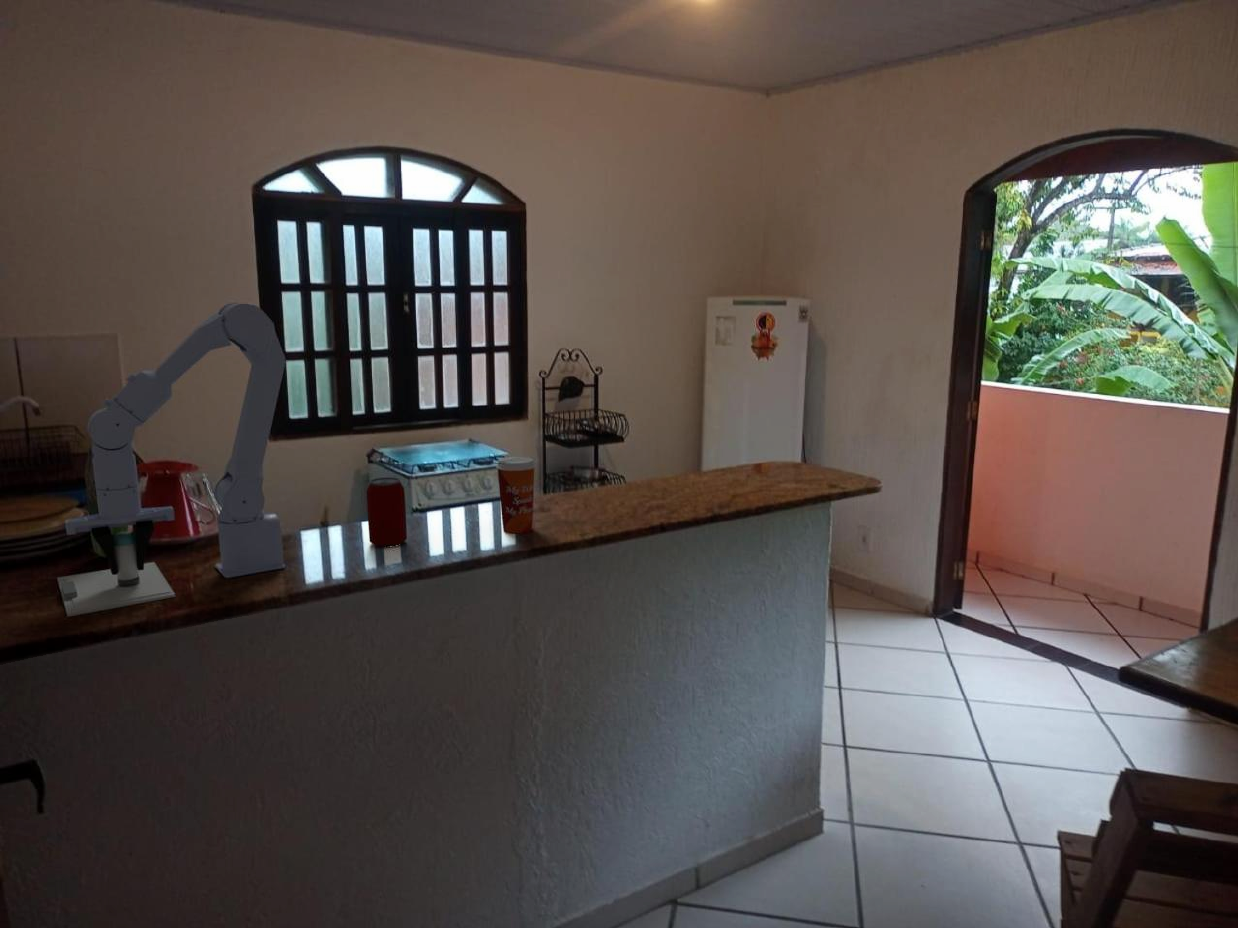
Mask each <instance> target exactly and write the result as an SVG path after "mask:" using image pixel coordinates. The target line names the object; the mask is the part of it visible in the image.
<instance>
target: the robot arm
mask: <svg viewBox="0 0 1238 928" xmlns="http://www.w3.org/2000/svg"><path fill="white" fill-rule="evenodd" d="M232 343H233V344H234V345H235V346H236V347H238V348H239V350H240V351H241V353H242V354H243V355H244V357H245V358H246V359H247V360H248V362H249V363H250V365H251V367H250V371H249V376H248V380H247V384H246V389H245V393H244V398H243V403H242V407H241V410H240V411H241V412H240V415H239V421H238V425H237V429H236V434H235V439H234V443H233V447H232V451H231V456H230V459H229V460H228V462H227V464H226V465H225V470H224V473H223V475H222V476H221V478H220V479H219V480H218V481H217V482H216V484H215V487H214V494H213V495H214V499H215V500H216V502H217V504H218V505H219V506H220V507H222V508H221V510H220V512H219V513H218V515H217V516H216V519H217V520H216V521H217V530H218V540H219V541H218V542H219V552H220V562H217V563H216V564H215V565H214V566H215V568H216V569H217V570H218V572H219V573H220V574H222V576H223V577H224V578H225V579H231V578H235V577H241V576H246V575H251V574H258V573H262V572H269V571H274V570H279V569H280V570H281V569H285V568H286V564H285V560H284V558H285V557H284V550H283V534H282V527H281V523H280V519H279V517H278V515H277V514H276V513H274V512H273V513H271V512H270V513H265V511H264V510H263V509H264V507H265V494H264V491H263V484H264V483H263V482H264V467H263V464H264V459H265V454H266V451H267V446H268V440H269V437H270V433H271V428H272V425H273V421H274V416H275V410H276V405H277V401H278V398H279V393H280V388H281V383H282V379H283V374H284V370H285V366H286V357H285V353H284V351H283V349H282V346H281V343H280V341H279V338H278V336H277V333H276V329H275V324H274V322H273V321H272V320H271V318H270V317H269V316H268V315H267V313H265V312H264V311H263V309H261V308H260V307H259V306H258V305H255V304H252V303H249V302H241V303H240V302H231V303H228V304H225V305H224V306H222V307H221V308H220V309H219V311H218V313H217V314H216V313H214V314H213V315H211V316H209V317H208V318H207V319H206V320H204V321H203V322H202V323H200V324H199V325H198V326H197V327H196V328H195V329H194V330H193V331H192V332H191V333H190V334H189V335H188V336H187V337H186V338H185V339H184V340H183V341H182V342H181V343H180V344H179V345H178V346H177V347H176V348H175V349H174V350H172V352H171V353H170V354H169V355H168V356H167V357H166V358H165V359H164V361H162V362H161V364H160V365H159V366H157V368H155V370H141V371H139V372H138V373H137V374H136V375H135V374H133V373H130V374H129V376H127V377H126V379H125V380H126V381H127V383H126V384H125V385H124V386H123V387H122V388H121V389H120V390H118V392H117V393H116V394H115V395H114V396H112V397H111V398H110V399H109V398H106V399H104V400H103V401H102V405H103V406H105V407H104V408H101V409H98V410H96V411H95V412H93V413H92V414H91V415H90V417H89V418H88V423H87V426H86V431H87V433H88V435H89V437H90V439H91V440H92V442H91V443H92V446H91V447H92V454H93V455H94V457H93V459H92V462H93V470H94V478H95V486H96V494H97V502H98V510H99V514H96V515H91V516H89V515H88V516H82V517H76V518H71V519H65V520H64V522H65V528H66V529H65V530H66V534H67V536H71V535H75V534H77V533H84V532H85V533H86V532H90V531H91V532H90V534H91V533H92V535H93V537H94V539H95V540H96V541H97V543H98V544H99V546H100V547H101V549H102V550H103V552H104V554H105V555H106V557H105V558H106V559H107V563H108V566H109V569H111V573H112V575H116V574H118V572H117V565H116V561H115V556H114V548H113V536H112V534H111V530H110V528H114V527H121V526H128V527H129V526H132V529H133V530H132V532H134V536H135V545H136V553H137V562H138V570H144V564H145V558H146V554H147V549H148V547H149V543H150V541H151V538H152V536H153V534H154V531H155V526H154V523H155V522H161V521H162V522H163V521H169V522H171V521H175V519H176V518H175V511H174V510H175V509H174V508H173V506H172V505H169V506H162V507H159V506H158V507H145V508H142V505H141V504H142V503H141V493H140V485H139V477H138V476H139V475H138V471H137V461H136V455H135V454H134V452H133V451H134V450H133V443H132V441H133V439H134V438H135V433H136V430H135V428H138V427H141V426H143V425H145V423H147V421H149V420H150V419H151V418H152V417H153V415H155V413H157V412H158V411H159V410H160V409H162V407H163V406H164V405H165V404H166V403H167V402H168V401H169V400H171V398H172V397H173V391H172V388H173V387H172V385H174V383H175V382H176V381H177V380H178V379H180V378H181V377H182V376H183V375H185V374H186V373H187V371H189V370H190V369H191V368H192V367H193V366H195V364H197V363H198V362H199V361H201V359H202V358H204V357H205V356H206V355H207V354H208V353H209V352H210V351H212V350H217V349H221V348H225V347H226V348H227V347H230V346H232Z"/></svg>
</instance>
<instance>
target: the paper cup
mask: <svg viewBox="0 0 1238 928" xmlns="http://www.w3.org/2000/svg"><path fill="white" fill-rule="evenodd" d="M536 467H537V465H536V464H535V460H534V459H533V458H531V457H526V456H510V457H509V456H508V457H503V458H500V459H498V460H497V465H495V469H497V477H498V488H499V489H498V490H499V500H500V510H501V520H502V530H503V532H504V533H506V534H509V535H510V534H511V535H512V534H513V535H518V534H519V535H521V534H527V533H529V532H532V529H533V518H534V517H533V516H534V515H533V514H534V511H533V510H534V492H535V491H534V488H535V487H534V485H535V484H534V483H535V468H536Z"/></svg>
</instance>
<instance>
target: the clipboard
mask: <svg viewBox="0 0 1238 928" xmlns="http://www.w3.org/2000/svg"><path fill="white" fill-rule="evenodd" d="M139 578H140V582H139V583H138V584H135V585H131V586H119V585H118V580H117V574H116V575H112V573H111V569H110V568H109V569H102V570H95V571H91V572H86V573H85V572H83V573H79V574H72V575H66V576H65V575H64V576H60V577H57V583H58V587H59V590H60V593H61V594H60V595H61V598H62V602H63V606H64V608H65V613H66V617H67V618H69V617H73V616H79V615H84V614H89V613H95V612H100V611H106V610H112V609H116V608H117V609H118V608H122V607H126V606H127V607H128V606H132V605H138V604H142V603H143V604H144V603H149V602H150V603H151V602H154V601H159V600H165V599H170V598H171V599H172V598H176V593H175V592H174V590H173V588H172V587H171V585H170V584H169V582H168V580H167V579H166V577H164V575H163V573H162V572H161V570H160V569H159V567H158V565H157V564H156V563H155V561H152V562H146V563H145V562H144V570H139Z"/></svg>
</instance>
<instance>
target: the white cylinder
mask: <svg viewBox="0 0 1238 928" xmlns="http://www.w3.org/2000/svg"><path fill="white" fill-rule="evenodd" d="M112 536H113V548H114V556H115V561H116V565H117V572H118V574H117V580H118V585H119V586H131V585H135V584H138V583H139V582H140V578H139V570H138V562H137V553H136V545H135V536H134V532H133V531H127V532H119V533H115V534H113V535H112Z"/></svg>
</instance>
